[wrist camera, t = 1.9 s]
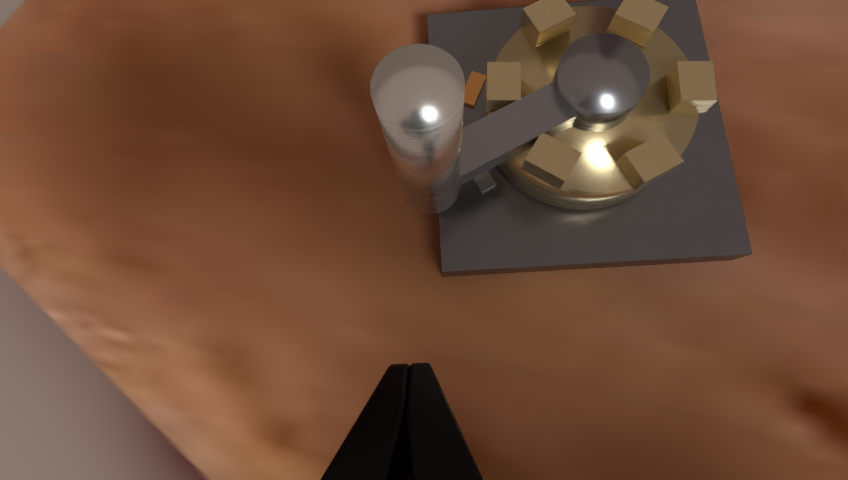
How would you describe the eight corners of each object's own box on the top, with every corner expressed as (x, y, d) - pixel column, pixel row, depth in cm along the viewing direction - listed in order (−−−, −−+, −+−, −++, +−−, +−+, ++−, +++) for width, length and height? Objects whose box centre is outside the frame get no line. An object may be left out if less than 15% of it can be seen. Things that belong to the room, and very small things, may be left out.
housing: (732, 260, 22) (755, 253, 20) (442, 276, 22) (441, 270, 21) (679, 12, 25) (695, -11, 23) (428, 33, 26) (426, 12, 24)
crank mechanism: (602, 12, 23) (702, -208, 14) (711, 156, 21) (913, 8, 12) (366, 132, 22) (306, -16, 13) (454, 294, 20) (456, 252, 11)
